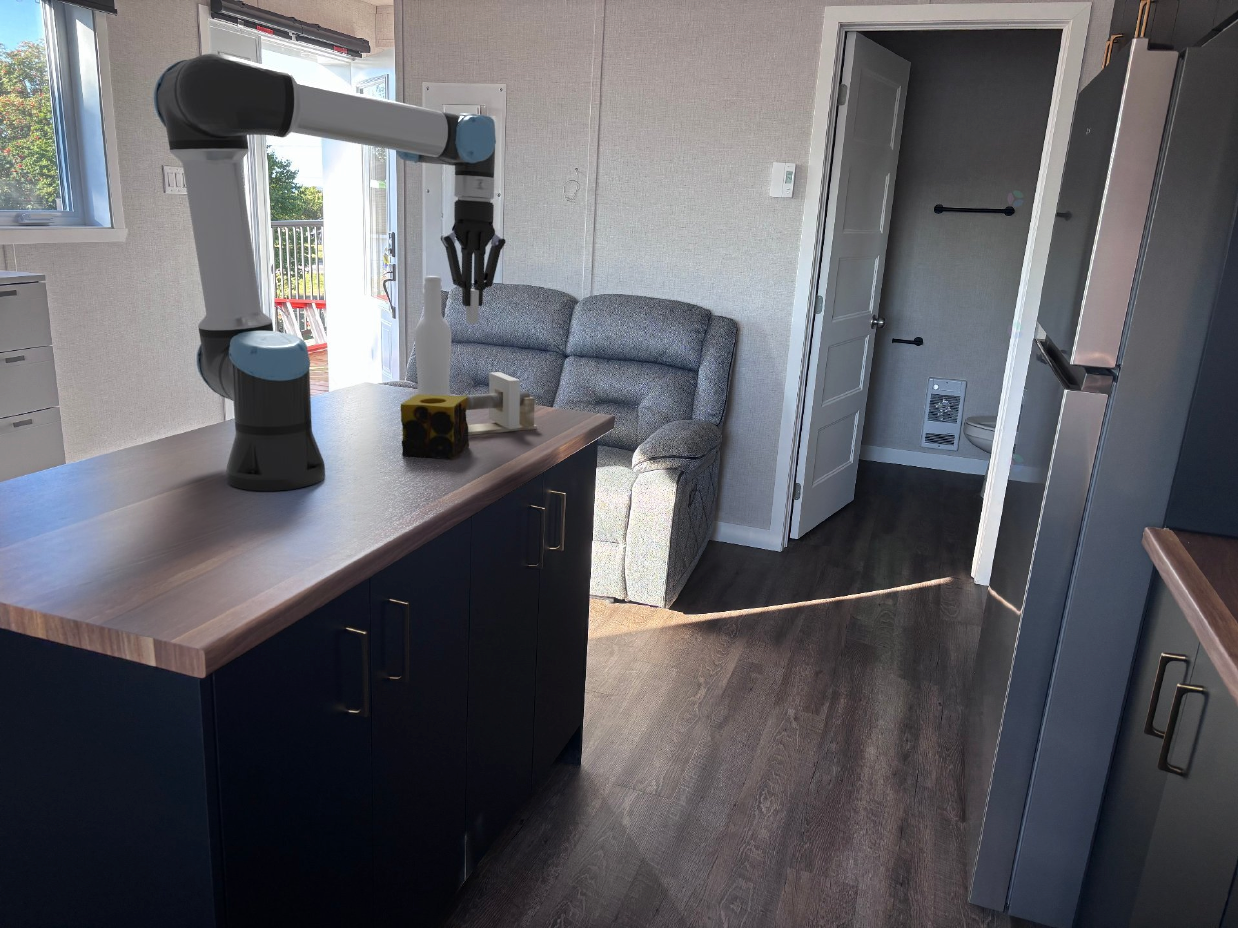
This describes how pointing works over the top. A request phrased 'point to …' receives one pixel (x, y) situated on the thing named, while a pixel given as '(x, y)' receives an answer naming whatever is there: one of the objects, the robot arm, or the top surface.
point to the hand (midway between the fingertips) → (472, 322)
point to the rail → (499, 428)
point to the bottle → (433, 343)
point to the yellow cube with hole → (434, 426)
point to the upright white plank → (505, 399)
